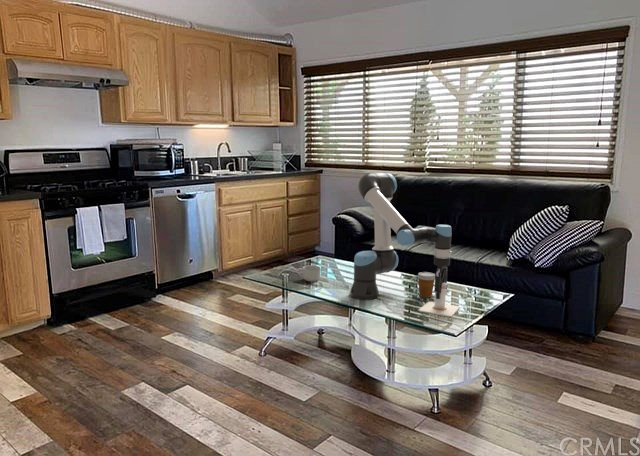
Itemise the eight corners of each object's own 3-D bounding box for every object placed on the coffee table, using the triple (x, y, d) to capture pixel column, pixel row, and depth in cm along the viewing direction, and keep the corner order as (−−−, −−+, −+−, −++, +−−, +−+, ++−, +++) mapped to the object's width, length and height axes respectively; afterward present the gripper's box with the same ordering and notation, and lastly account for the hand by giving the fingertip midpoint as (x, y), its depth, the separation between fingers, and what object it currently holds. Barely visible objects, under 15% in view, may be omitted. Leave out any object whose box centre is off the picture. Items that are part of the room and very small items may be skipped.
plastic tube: (432, 307, 240) (434, 283, 238) (436, 304, 244) (437, 281, 242) (443, 309, 237) (444, 285, 235) (446, 306, 242) (447, 282, 240)
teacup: (320, 278, 296) (320, 265, 295) (320, 283, 286) (320, 269, 284) (297, 277, 297) (297, 264, 295) (296, 282, 286) (296, 269, 285)
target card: (418, 311, 238) (418, 309, 238) (428, 302, 252) (428, 301, 252) (451, 317, 230) (451, 315, 230) (460, 307, 244) (460, 306, 244)
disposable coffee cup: (417, 298, 259) (418, 276, 257) (416, 292, 268) (417, 271, 266) (435, 299, 258) (436, 276, 256) (433, 293, 267) (435, 272, 265)
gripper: (444, 261, 227) (441, 309, 231) (455, 254, 242) (452, 299, 246) (428, 259, 231) (426, 307, 235) (440, 252, 246) (437, 297, 250)
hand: (439, 303), depth 241 cm, fingers closed on plastic tube, 5 cm apart
